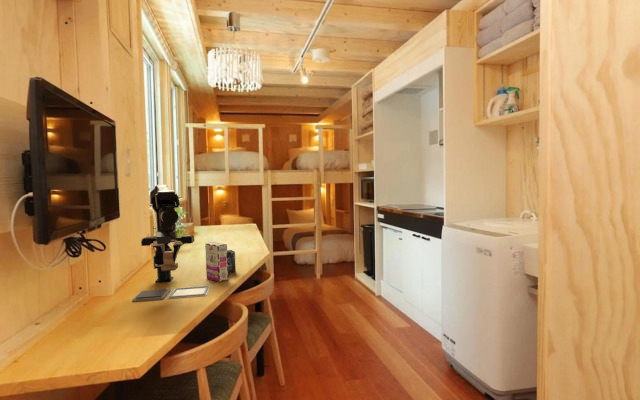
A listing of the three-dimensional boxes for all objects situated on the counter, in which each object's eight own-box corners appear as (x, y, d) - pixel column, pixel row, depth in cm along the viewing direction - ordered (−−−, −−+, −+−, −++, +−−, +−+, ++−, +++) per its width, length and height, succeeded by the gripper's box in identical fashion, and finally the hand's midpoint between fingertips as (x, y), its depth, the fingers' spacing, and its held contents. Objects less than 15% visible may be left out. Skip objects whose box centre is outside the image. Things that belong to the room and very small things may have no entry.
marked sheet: (174, 289, 151) (174, 288, 151) (210, 286, 154) (210, 285, 154) (167, 298, 139) (167, 297, 139) (206, 295, 142) (206, 294, 142)
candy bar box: (229, 280, 164) (227, 243, 163) (219, 282, 160) (217, 245, 159) (215, 276, 171) (214, 241, 171) (206, 278, 168) (204, 243, 167)
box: (220, 275, 173) (219, 253, 172) (216, 273, 177) (215, 251, 177) (236, 272, 177) (235, 251, 176) (232, 270, 182) (231, 249, 181)
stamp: (164, 268, 146) (164, 251, 146) (177, 267, 147) (177, 250, 146) (161, 271, 141) (160, 253, 141) (174, 270, 142) (173, 252, 142)
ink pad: (141, 293, 148) (141, 290, 148) (170, 290, 150) (169, 288, 149) (132, 301, 137) (132, 298, 137) (163, 299, 139) (163, 296, 139)
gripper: (135, 226, 134) (137, 267, 135) (187, 223, 137) (189, 264, 137) (145, 222, 145) (147, 261, 146) (193, 220, 148) (195, 258, 148)
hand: (169, 261), depth 144 cm, fingers closed on stamp, 3 cm apart
